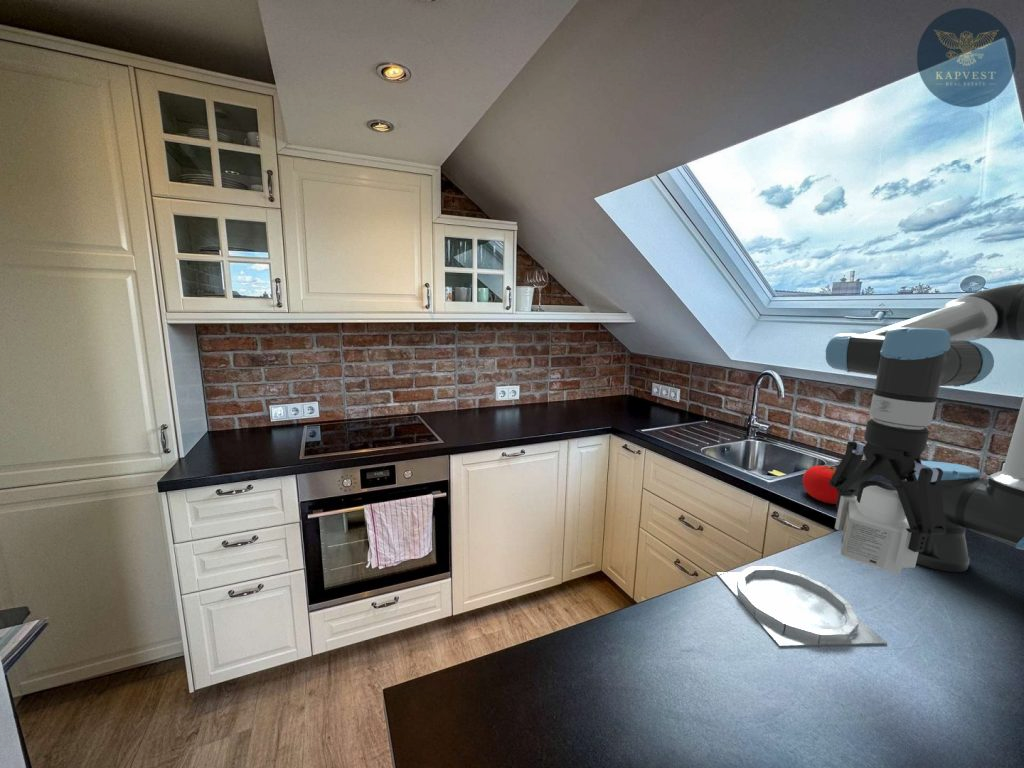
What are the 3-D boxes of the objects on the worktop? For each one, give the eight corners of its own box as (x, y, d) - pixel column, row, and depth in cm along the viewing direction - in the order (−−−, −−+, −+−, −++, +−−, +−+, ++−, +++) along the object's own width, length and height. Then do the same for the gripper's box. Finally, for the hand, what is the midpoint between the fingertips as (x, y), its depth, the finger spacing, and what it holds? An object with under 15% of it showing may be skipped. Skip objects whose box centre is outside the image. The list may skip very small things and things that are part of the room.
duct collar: (802, 573, 94) (803, 565, 93) (886, 644, 74) (889, 634, 74) (716, 574, 92) (717, 565, 92) (779, 647, 73) (781, 637, 72)
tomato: (821, 509, 125) (828, 474, 123) (792, 490, 138) (797, 458, 136) (860, 510, 125) (867, 475, 123) (827, 491, 138) (833, 459, 136)
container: (840, 536, 78) (856, 472, 75) (895, 553, 74) (914, 485, 71) (840, 556, 72) (857, 487, 69) (900, 576, 68) (921, 503, 65)
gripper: (818, 405, 79) (799, 513, 83) (958, 446, 57) (923, 592, 61) (854, 406, 80) (834, 513, 84) (1007, 446, 57) (968, 590, 61)
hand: (871, 546), depth 72 cm, fingers closed on container, 11 cm apart
